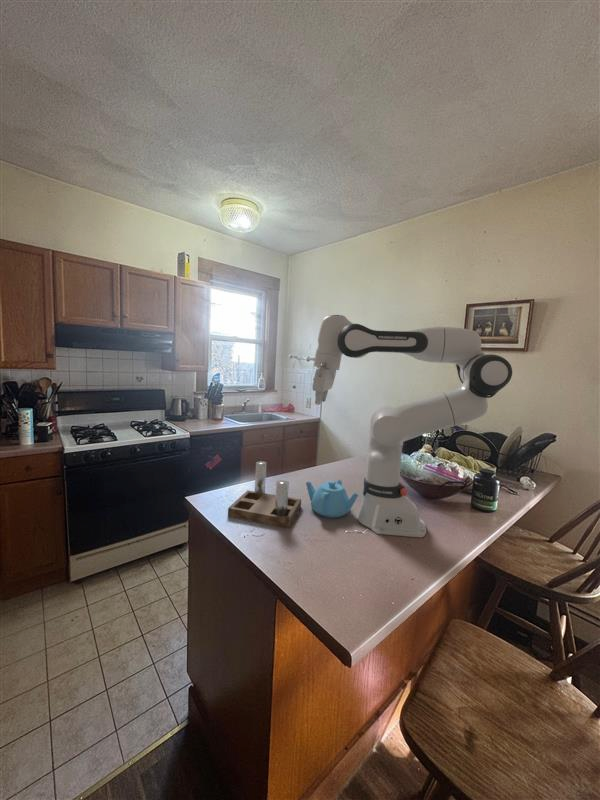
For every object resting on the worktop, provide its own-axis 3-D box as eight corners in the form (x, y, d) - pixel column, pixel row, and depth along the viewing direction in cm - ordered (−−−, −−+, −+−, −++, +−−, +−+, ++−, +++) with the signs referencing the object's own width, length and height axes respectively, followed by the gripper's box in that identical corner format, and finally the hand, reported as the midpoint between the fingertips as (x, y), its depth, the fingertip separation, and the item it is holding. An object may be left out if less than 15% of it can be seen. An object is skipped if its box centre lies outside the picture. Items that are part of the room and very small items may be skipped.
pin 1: (266, 494, 126) (268, 462, 125) (262, 498, 122) (264, 465, 121) (256, 492, 127) (258, 460, 126) (252, 496, 123) (254, 463, 122)
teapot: (303, 502, 121) (304, 475, 120) (339, 499, 126) (341, 473, 125) (317, 522, 107) (319, 491, 106) (357, 518, 111) (360, 488, 110)
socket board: (300, 507, 117) (301, 499, 116) (288, 528, 101) (289, 519, 101) (247, 497, 122) (247, 490, 121) (227, 516, 106) (228, 508, 106)
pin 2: (287, 518, 108) (290, 481, 106) (284, 524, 104) (286, 485, 102) (276, 516, 109) (278, 479, 107) (272, 522, 105) (274, 483, 103)
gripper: (331, 364, 99) (324, 408, 101) (339, 365, 119) (333, 401, 120) (311, 361, 100) (304, 404, 102) (323, 362, 120) (316, 398, 122)
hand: (320, 402), depth 111 cm, fingers open, 8 cm apart
